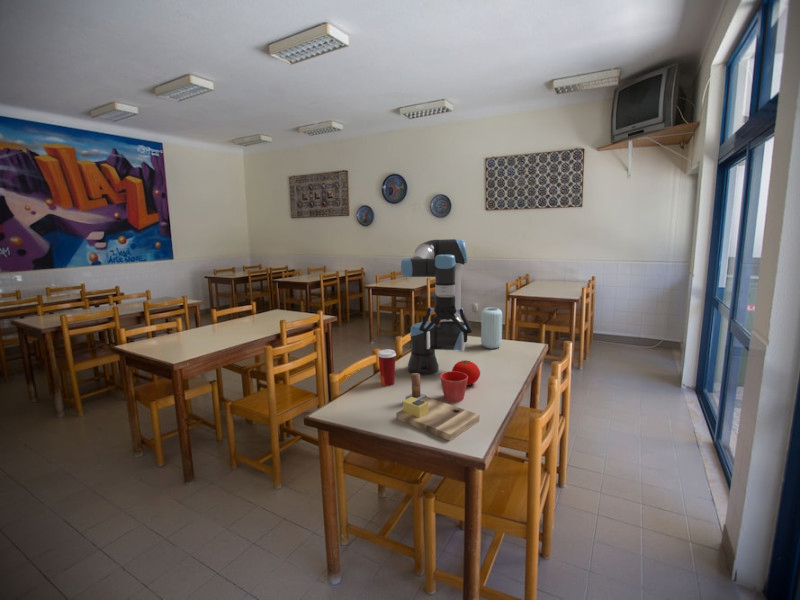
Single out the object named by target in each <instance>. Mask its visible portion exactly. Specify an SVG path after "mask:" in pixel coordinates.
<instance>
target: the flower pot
mask: <svg viewBox="0 0 800 600" xmlns="http://www.w3.org/2000/svg"><path fill="white" fill-rule="evenodd" d="M439 376H440V381H441V388H442V392H443V395H444V396H443V397H444V400H446V401H447V402H451V403H459V402H462V401H463V400H464V397H465V396H466V395H465V394H466V389H467V386H468V385H467V380H468V376H467V375H466V374H464V373H462V372H457V371H452V370H451V371H446V372H443V373H441V374H440V375H439Z"/></svg>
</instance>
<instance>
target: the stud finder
mask: <svg viewBox="0 0 800 600" xmlns="http://www.w3.org/2000/svg"><path fill="white" fill-rule="evenodd" d="M402 410H403V412H406V413H409V414H411V415H414V416H416V417H419V418H420V417H422V416H424V415H425V414H427V413H428V402H425V401H422V400H419V399H417V398H414V397H410V398H408V399H406V398H405V399H404V400H403V401H402Z"/></svg>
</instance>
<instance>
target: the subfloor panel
mask: <svg viewBox="0 0 800 600" xmlns="http://www.w3.org/2000/svg"><path fill="white" fill-rule="evenodd" d="M422 401H425V402H428V413H427V414H425V415H424V416H422V417H420V418H419V417H416V416H414V415H411V414H409V413H406V412H403V409H401V410H399V411H398V412H396V413H395V414H396V415H395V416H396V420H399V421H401V422H404V423H407V424H408V425H411V426H414V427H416V428H418V429H420V430H423V431H425V432H428V433H430V434H432V435H434V436H436V437H439V438H442V439H444V440H446V441H448V442H451V441H452V440H455V438H457V437H458V436H460V435H462V434H463V433H464V432H465V431H467V430H469V428H472V427H473V426H474V425H476V424H477V423H479V422H480V414H479V413H476V412H472V411H470V410H468V409H464V408H460V407H458V406H455V405H452V404H449V403H447V402H443V401H440V400H437V399H435V398H431V397H428V396H427V397H426V398H424V399H422Z"/></svg>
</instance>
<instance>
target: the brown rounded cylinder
mask: <svg viewBox="0 0 800 600" xmlns="http://www.w3.org/2000/svg"><path fill="white" fill-rule="evenodd" d="M420 393H421V375H420V374H419V373H411V394H412V397H414V398H418V397H420Z"/></svg>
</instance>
